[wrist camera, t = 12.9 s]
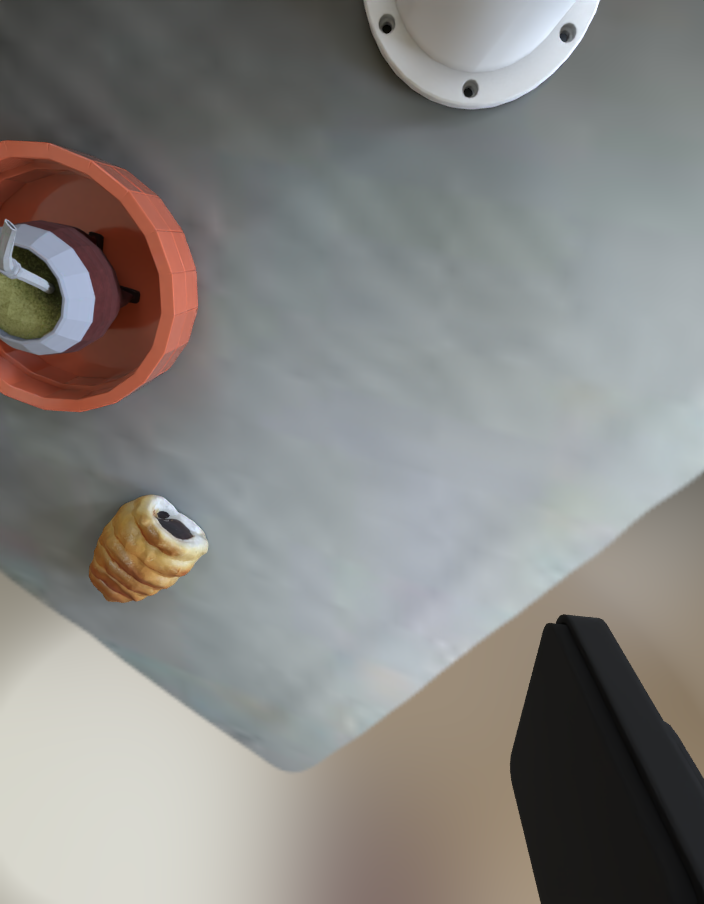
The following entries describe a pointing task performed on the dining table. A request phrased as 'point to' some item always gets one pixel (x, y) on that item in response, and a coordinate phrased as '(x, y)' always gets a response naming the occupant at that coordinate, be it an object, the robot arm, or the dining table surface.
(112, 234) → the terracotta bowl
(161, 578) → the pastry
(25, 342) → the mate gourd
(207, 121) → the dining table surface
